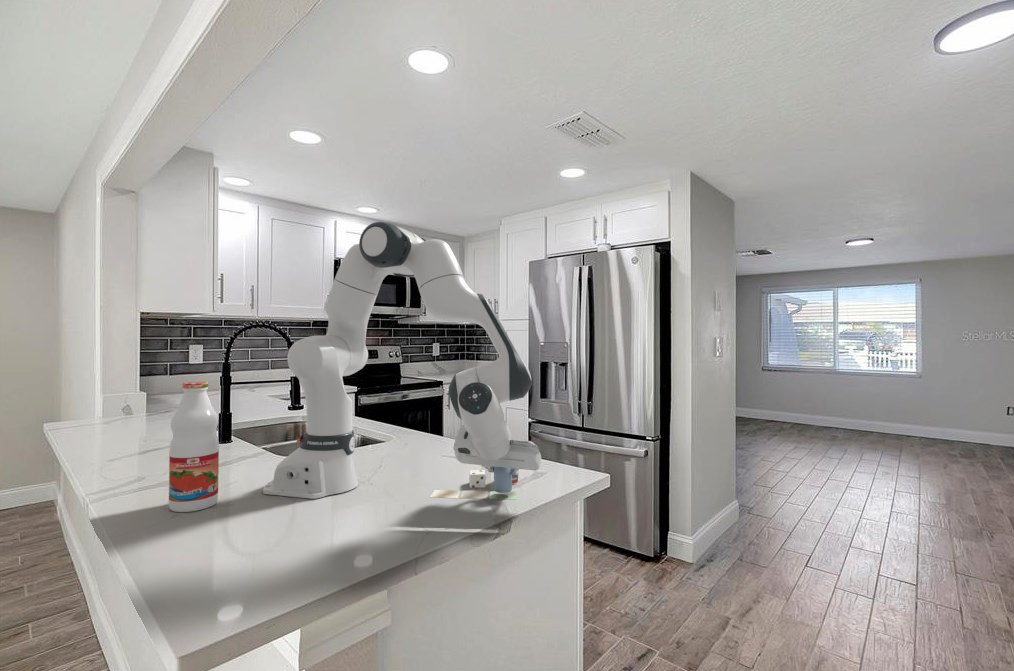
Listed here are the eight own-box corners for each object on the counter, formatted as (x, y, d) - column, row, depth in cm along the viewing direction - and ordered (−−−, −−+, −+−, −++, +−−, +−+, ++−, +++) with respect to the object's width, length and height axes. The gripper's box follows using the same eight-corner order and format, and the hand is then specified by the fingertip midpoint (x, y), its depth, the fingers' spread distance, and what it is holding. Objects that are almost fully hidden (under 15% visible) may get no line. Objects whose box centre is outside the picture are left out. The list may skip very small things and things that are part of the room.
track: (426, 500, 113) (426, 497, 113) (430, 491, 119) (430, 489, 119) (520, 502, 112) (520, 499, 112) (520, 493, 118) (520, 491, 118)
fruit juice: (221, 496, 114) (222, 380, 114) (214, 509, 105) (216, 384, 105) (174, 501, 110) (175, 381, 110) (163, 515, 101) (165, 385, 101)
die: (469, 490, 121) (469, 474, 121) (469, 485, 125) (469, 470, 125) (485, 489, 121) (485, 474, 121) (484, 485, 125) (484, 469, 125)
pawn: (492, 492, 114) (492, 457, 113) (495, 486, 118) (495, 452, 118) (510, 493, 113) (511, 458, 113) (512, 487, 117) (513, 453, 117)
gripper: (539, 431, 106) (547, 463, 115) (454, 424, 112) (469, 456, 121) (534, 455, 102) (543, 487, 111) (446, 447, 107) (462, 478, 117)
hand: (503, 471), depth 116 cm, fingers open, 4 cm apart
